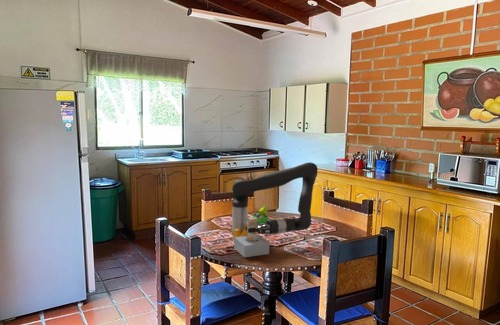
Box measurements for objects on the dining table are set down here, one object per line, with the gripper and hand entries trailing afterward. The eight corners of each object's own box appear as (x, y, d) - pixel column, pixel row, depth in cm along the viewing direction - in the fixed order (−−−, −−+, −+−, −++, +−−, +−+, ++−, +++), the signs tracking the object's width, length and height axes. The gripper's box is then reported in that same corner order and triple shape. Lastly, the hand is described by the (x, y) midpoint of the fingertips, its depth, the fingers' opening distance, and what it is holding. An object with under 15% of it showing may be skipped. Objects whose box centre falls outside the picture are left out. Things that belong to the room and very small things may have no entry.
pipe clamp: (239, 242, 203) (239, 231, 202) (233, 240, 205) (233, 229, 205) (251, 237, 212) (252, 226, 212) (246, 235, 215) (246, 225, 214)
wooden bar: (246, 247, 189) (247, 217, 187) (253, 246, 191) (254, 216, 189) (248, 249, 186) (249, 219, 185) (256, 248, 188) (257, 218, 186)
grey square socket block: (234, 248, 192) (234, 237, 192) (257, 245, 198) (258, 234, 197) (244, 257, 180) (244, 245, 179) (269, 253, 185) (269, 242, 185)
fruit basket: (251, 221, 246) (251, 205, 245) (262, 220, 250) (263, 204, 248) (258, 225, 236) (259, 208, 234) (270, 224, 239) (271, 207, 238)
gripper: (270, 216, 199) (241, 219, 192) (282, 223, 186) (252, 226, 179) (269, 229, 200) (241, 232, 193) (282, 237, 187) (252, 240, 180)
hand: (246, 229), depth 186 cm, fingers open, 3 cm apart
